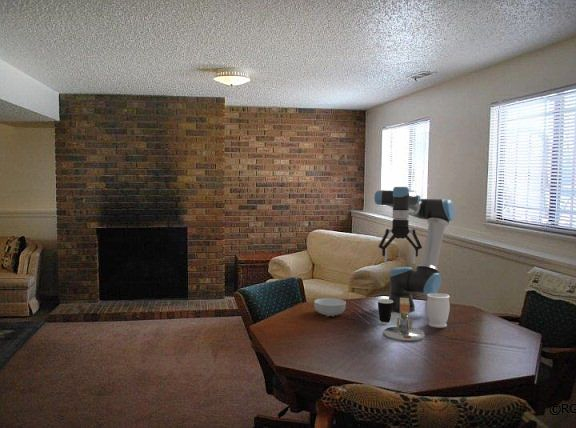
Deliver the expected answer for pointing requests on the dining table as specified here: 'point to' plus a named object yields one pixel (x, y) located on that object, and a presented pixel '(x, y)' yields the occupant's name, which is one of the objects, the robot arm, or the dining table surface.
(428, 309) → the jar
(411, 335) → the post base
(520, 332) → the dining table surface
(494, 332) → the dining table surface
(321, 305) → the cereal bowl
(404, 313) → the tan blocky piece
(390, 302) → the dixie cup
